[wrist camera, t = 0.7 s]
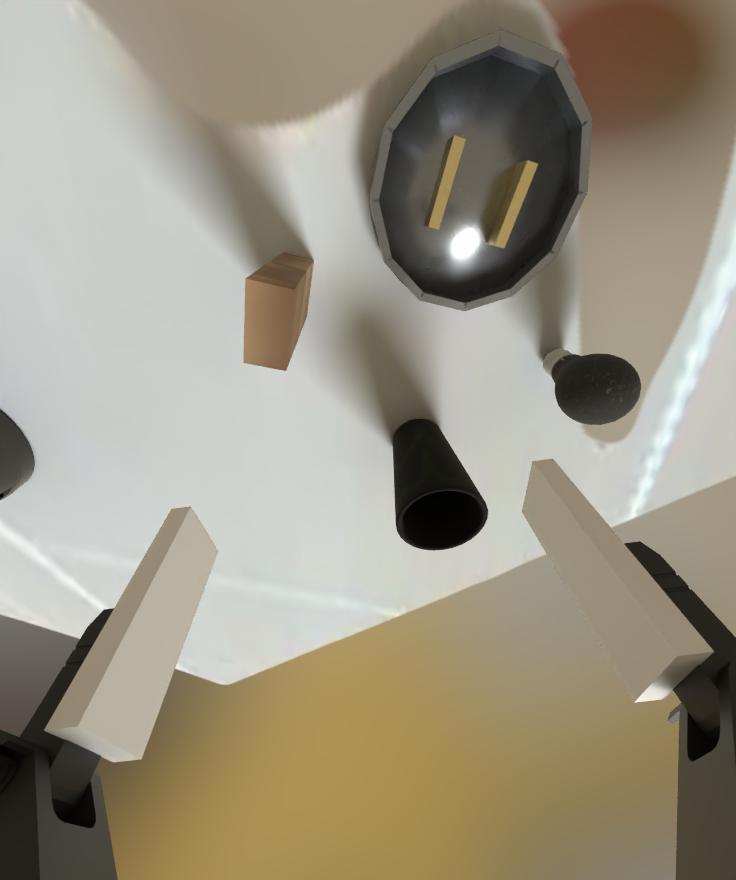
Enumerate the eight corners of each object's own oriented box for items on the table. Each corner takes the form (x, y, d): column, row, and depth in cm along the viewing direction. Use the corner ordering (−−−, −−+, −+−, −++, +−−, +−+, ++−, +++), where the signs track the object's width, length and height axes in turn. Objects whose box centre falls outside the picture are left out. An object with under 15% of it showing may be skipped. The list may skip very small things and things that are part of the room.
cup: (410, 398, 34) (436, 473, 25) (465, 430, 37) (507, 509, 27) (370, 449, 38) (378, 533, 28) (422, 475, 41) (446, 560, 31)
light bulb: (511, 361, 33) (566, 412, 24) (561, 316, 30) (640, 355, 22) (542, 393, 35) (602, 450, 27) (591, 353, 33) (673, 402, 24)
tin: (351, 280, 28) (352, 286, 26) (403, 8, 20) (409, -16, 17) (512, 319, 30) (525, 328, 28) (617, 94, 22) (646, 81, 20)
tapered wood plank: (279, 310, 29) (243, 362, 19) (283, 252, 26) (245, 278, 17) (306, 316, 29) (285, 370, 19) (313, 260, 27) (294, 289, 17)
